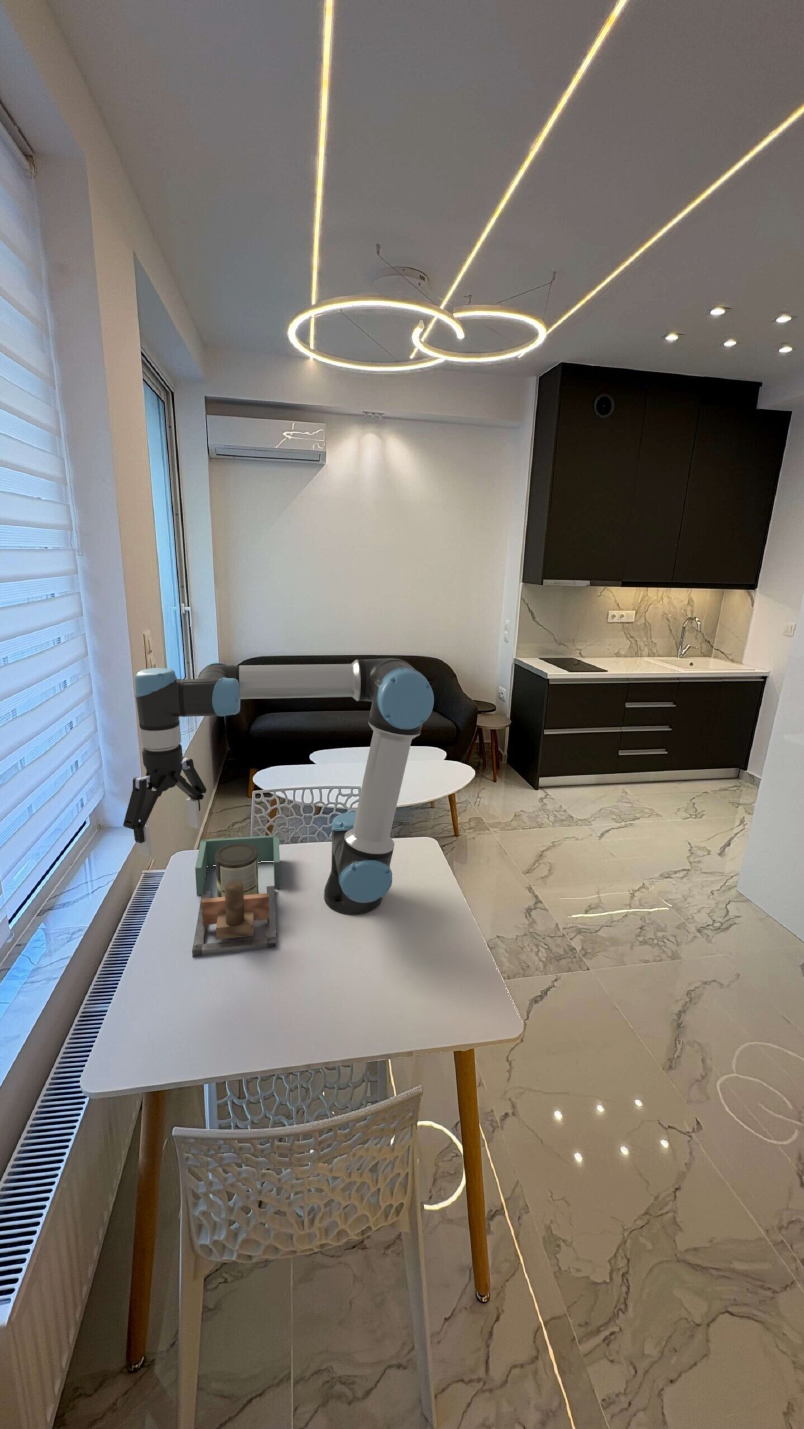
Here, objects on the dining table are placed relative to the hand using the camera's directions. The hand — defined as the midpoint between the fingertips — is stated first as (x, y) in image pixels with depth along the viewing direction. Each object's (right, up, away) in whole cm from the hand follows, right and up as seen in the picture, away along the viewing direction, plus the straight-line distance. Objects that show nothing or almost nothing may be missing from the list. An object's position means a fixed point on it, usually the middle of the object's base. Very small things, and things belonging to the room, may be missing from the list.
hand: (171, 840), depth 124 cm
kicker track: (+9, -23, +17) cm, 30 cm away
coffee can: (+7, -21, +24) cm, 33 cm away
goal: (+5, -18, +35) cm, 40 cm away
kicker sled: (+10, -23, +12) cm, 28 cm away
